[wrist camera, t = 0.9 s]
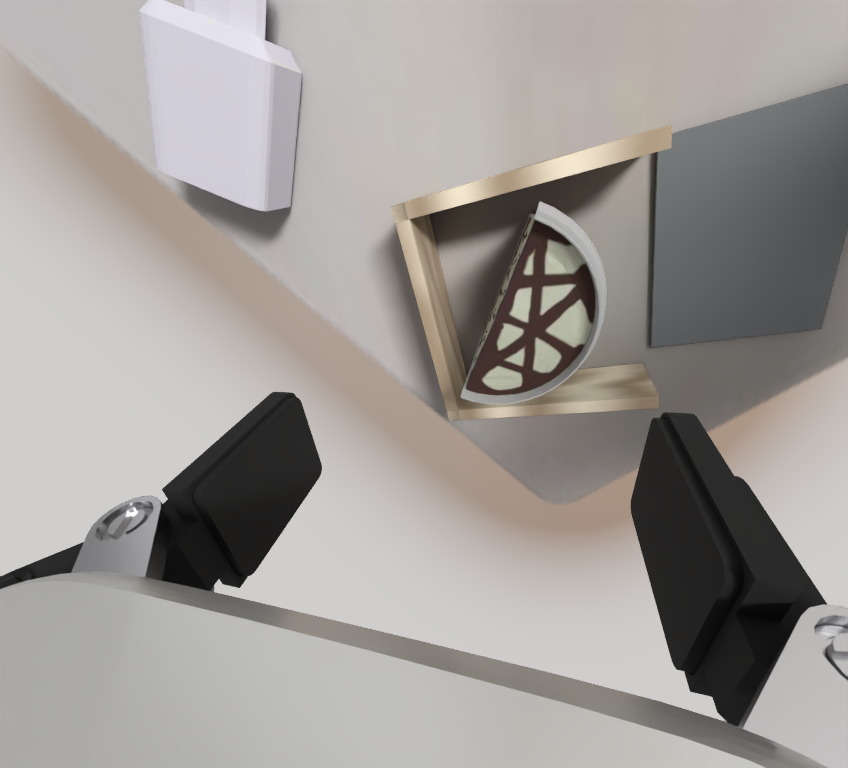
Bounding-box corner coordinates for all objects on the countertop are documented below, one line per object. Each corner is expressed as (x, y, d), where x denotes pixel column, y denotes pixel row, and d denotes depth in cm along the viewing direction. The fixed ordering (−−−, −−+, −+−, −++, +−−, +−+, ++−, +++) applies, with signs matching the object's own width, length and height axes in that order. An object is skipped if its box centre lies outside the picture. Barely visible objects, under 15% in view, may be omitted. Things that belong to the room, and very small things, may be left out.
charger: (320, -54, 22) (295, 206, 30) (183, -105, 22) (197, 166, 31) (273, -100, 18) (259, 213, 27) (109, -160, 18) (147, 167, 27)
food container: (544, 366, 32) (546, 438, 23) (477, 341, 32) (457, 404, 24) (625, 219, 25) (669, 249, 17) (538, 190, 25) (539, 205, 17)
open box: (647, 131, 22) (672, 124, 18) (642, 373, 30) (659, 408, 26) (412, 199, 28) (390, 206, 23) (459, 390, 35) (449, 420, 31)
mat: (881, 74, 19) (887, 72, 18) (817, 326, 25) (821, 328, 25) (656, 138, 22) (658, 137, 22) (650, 345, 28) (651, 347, 28)
